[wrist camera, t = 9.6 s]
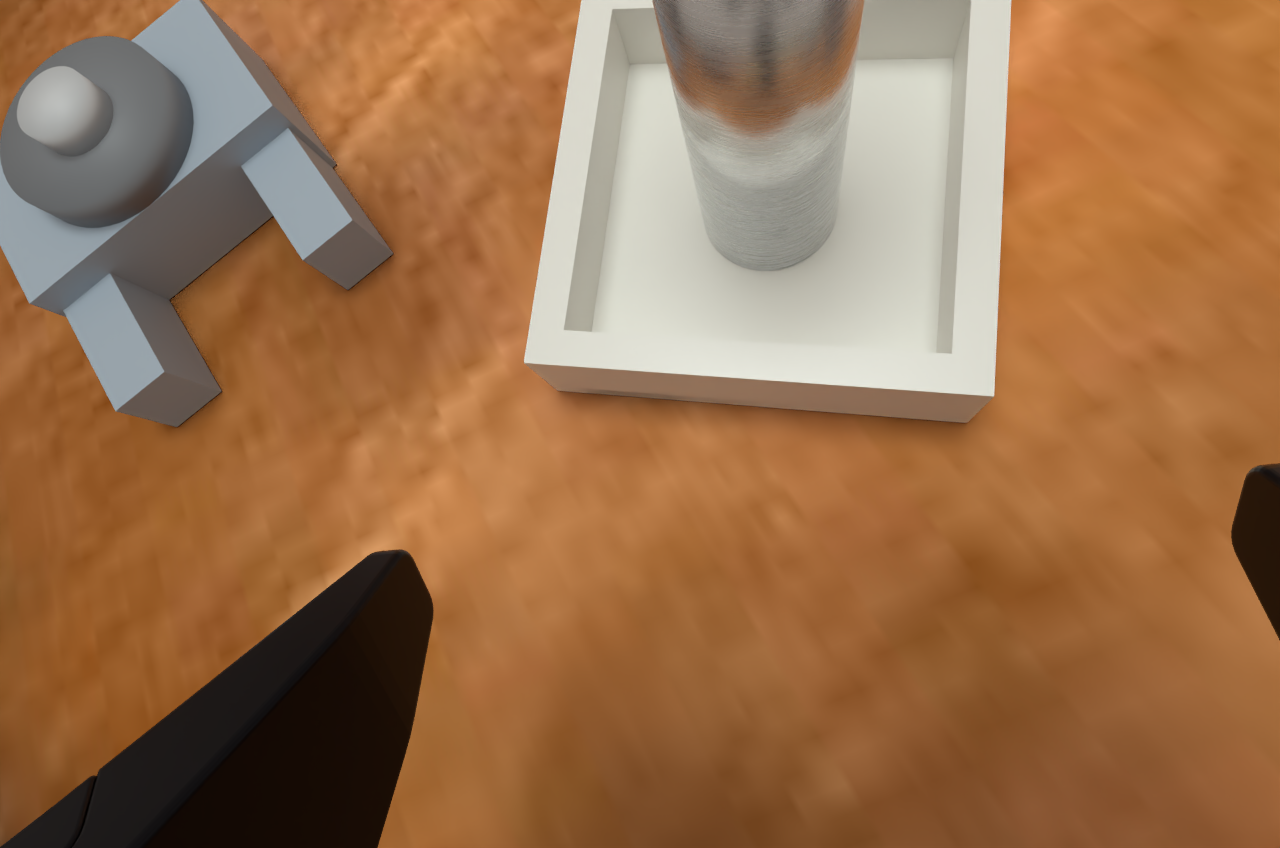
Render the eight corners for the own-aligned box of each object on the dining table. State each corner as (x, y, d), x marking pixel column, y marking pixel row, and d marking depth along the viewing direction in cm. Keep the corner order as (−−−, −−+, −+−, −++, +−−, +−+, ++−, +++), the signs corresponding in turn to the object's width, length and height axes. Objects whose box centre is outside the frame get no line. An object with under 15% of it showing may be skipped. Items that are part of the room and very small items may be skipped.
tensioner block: (397, 250, 26) (292, 161, 21) (172, 430, 27) (10, 389, 21) (261, 59, 29) (138, -63, 24) (60, 223, 30) (-107, 140, 24)
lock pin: (784, 314, 22) (779, -96, 9) (658, 228, 24) (489, -242, 10) (885, 188, 23) (1024, -394, 9) (754, 110, 24) (710, -500, 11)
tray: (967, 423, 21) (993, 396, 18) (558, 390, 24) (523, 362, 21) (986, 41, 24) (1012, -38, 21) (609, 49, 26) (584, -19, 23)
